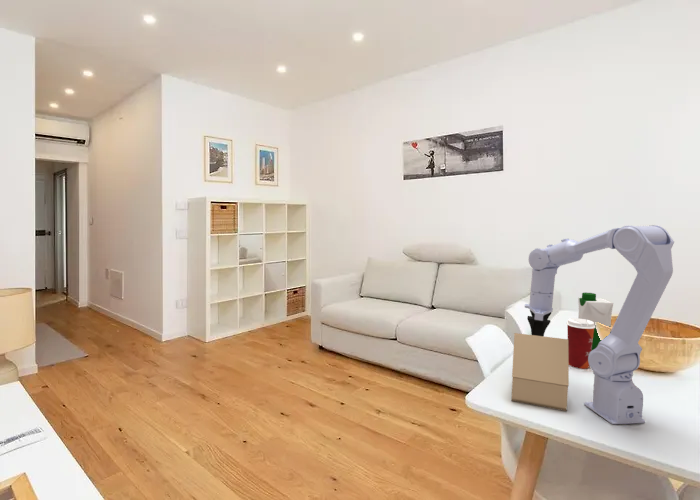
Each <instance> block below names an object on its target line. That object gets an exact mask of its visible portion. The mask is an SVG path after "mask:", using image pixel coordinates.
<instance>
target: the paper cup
mask: <svg viewBox="0 0 700 500" xmlns="http://www.w3.org/2000/svg"><path fill="white" fill-rule="evenodd" d="M566 325H567V339H568V362H569V366H570V367H572V368H575V369H581V370H586V369H589V368H590V366H589V363H588V356H589V353H590V352H591V349H592V341H593V333H594V328H595V325H594V322H593V321H590V320H586V319H579V318H577V317H573V318H568V320H567V322H566Z"/></svg>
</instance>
